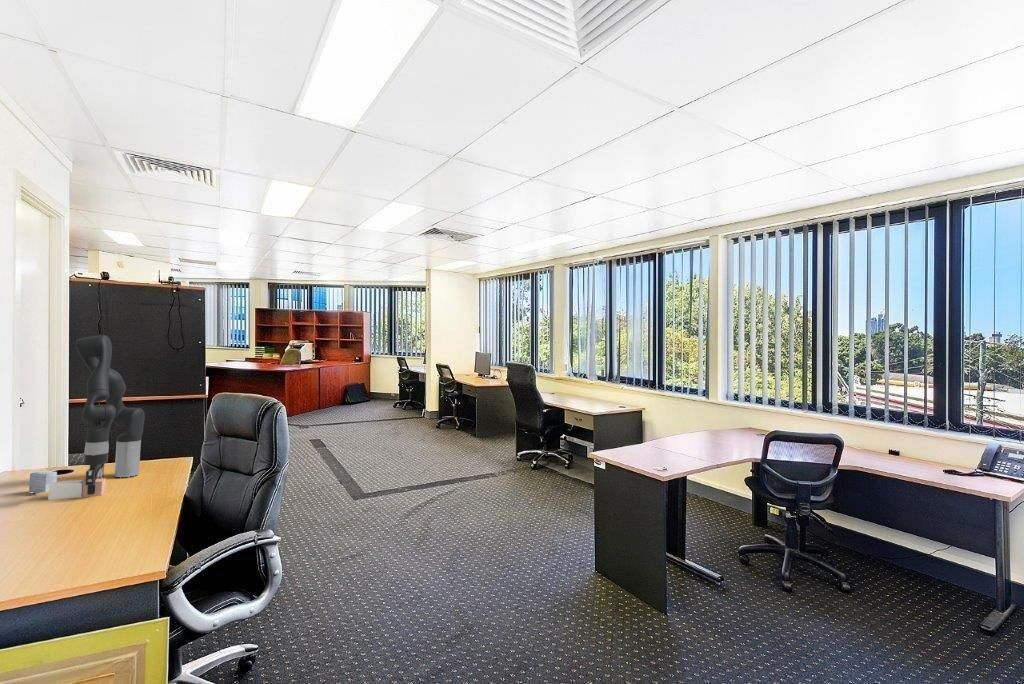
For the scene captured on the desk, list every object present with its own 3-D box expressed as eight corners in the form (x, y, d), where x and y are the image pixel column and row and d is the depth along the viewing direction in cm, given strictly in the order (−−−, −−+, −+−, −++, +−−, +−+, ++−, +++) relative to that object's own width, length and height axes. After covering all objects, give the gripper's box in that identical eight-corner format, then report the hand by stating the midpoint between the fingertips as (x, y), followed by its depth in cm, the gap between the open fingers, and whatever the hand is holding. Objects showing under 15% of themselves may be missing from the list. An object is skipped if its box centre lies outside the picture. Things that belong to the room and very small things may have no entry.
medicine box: (56, 491, 197) (57, 471, 197) (44, 494, 192) (46, 474, 192) (40, 490, 197) (41, 470, 198) (28, 493, 193) (29, 473, 193)
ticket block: (53, 496, 187) (54, 481, 187) (85, 494, 192) (86, 479, 192) (48, 500, 183) (49, 484, 183) (81, 497, 187) (82, 482, 188)
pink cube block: (86, 493, 192) (87, 479, 192) (104, 491, 195) (105, 478, 195) (82, 496, 188) (83, 482, 188) (101, 495, 191) (102, 481, 191)
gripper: (90, 449, 196) (87, 488, 196) (78, 456, 184) (75, 497, 183) (113, 448, 200) (110, 486, 199) (103, 455, 187) (100, 495, 187)
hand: (93, 491), depth 191 cm, fingers open, 7 cm apart
